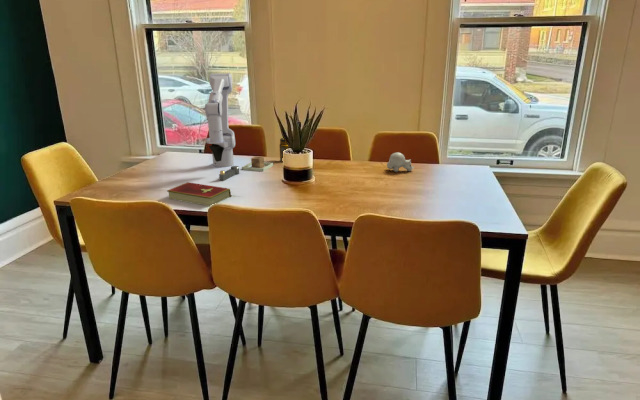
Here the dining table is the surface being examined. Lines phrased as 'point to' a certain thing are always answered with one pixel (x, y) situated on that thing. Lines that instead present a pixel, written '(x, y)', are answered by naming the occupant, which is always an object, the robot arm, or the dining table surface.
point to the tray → (257, 168)
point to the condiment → (282, 147)
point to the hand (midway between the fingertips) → (218, 161)
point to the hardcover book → (199, 193)
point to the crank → (229, 173)
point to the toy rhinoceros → (399, 162)
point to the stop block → (257, 162)
